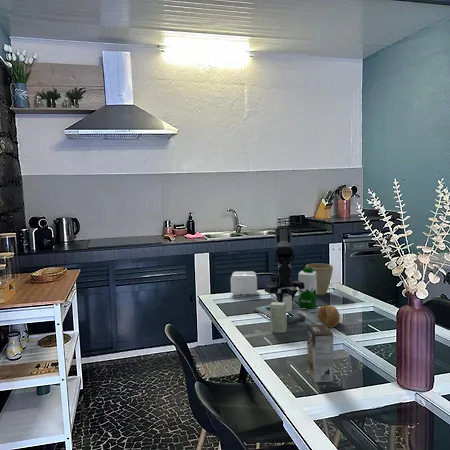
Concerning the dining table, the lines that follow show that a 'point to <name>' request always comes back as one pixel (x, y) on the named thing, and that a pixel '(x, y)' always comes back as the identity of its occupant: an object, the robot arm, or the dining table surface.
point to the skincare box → (278, 317)
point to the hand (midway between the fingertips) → (285, 305)
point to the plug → (287, 302)
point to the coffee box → (320, 352)
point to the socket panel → (294, 315)
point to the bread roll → (328, 315)
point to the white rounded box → (244, 283)
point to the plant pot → (322, 276)
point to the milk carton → (308, 288)
